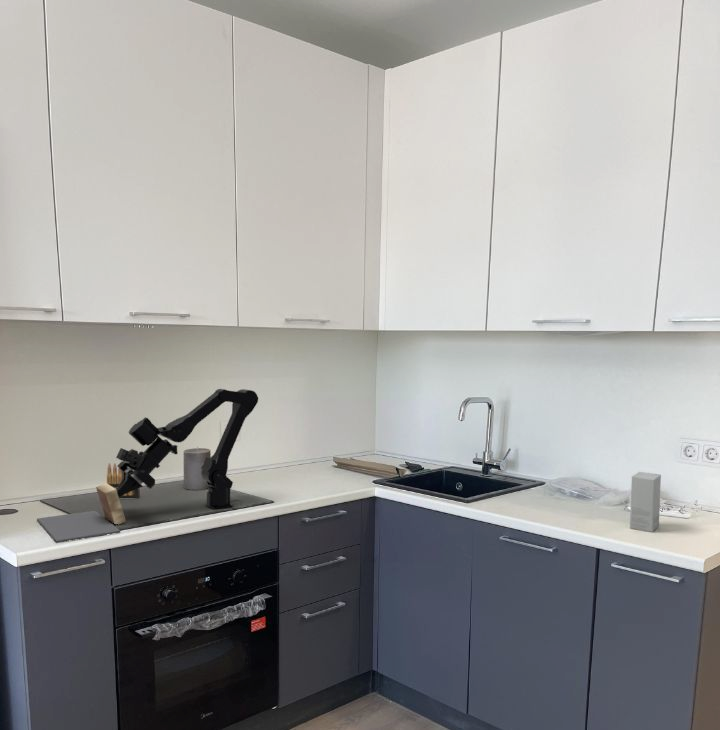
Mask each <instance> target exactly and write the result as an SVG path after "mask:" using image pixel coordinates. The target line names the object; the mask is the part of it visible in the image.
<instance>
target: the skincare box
mask: <svg viewBox="0 0 720 730" xmlns="http://www.w3.org/2000/svg"><path fill="white" fill-rule="evenodd" d="M661 480H662V475H661V474H660V473H659V474H657V473H650V472H643V471H638V472H637V473H635V474H633V475H632V476H631V487H630V489H631V490H630V514H629V515H630V516H629V529H631V530H636V531H642V532H647V533H654V531H656V530H657V529H658V528H659V527H660V506H661V505H660V504H661V503H660V502H661V483H662V482H661Z"/></svg>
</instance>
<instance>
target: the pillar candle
mask: <svg viewBox="0 0 720 730" xmlns="http://www.w3.org/2000/svg"><path fill="white" fill-rule="evenodd" d="M206 457H209V458H211V457H212V456H211V449H210V448H202V447H200V448H199V446H197V447H196V448H187V449H184V450H183V489H184V488H185V489H184V490H186V489H189V490H188V491H201V490H200V489H204V490H208V489H207V488H208V487H211V486H209V485H208V484H207V481H206V480H204V479H203V477H202V475H201V472H202V469H201V467H202V466H203V464H204V462H205V458H206Z"/></svg>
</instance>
